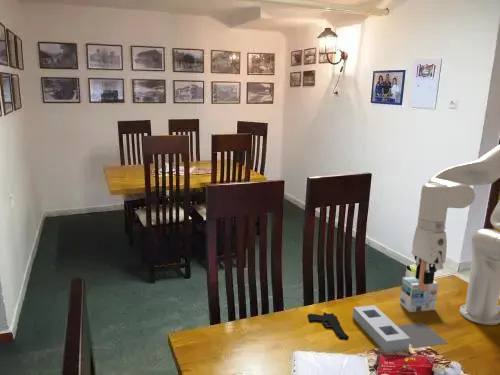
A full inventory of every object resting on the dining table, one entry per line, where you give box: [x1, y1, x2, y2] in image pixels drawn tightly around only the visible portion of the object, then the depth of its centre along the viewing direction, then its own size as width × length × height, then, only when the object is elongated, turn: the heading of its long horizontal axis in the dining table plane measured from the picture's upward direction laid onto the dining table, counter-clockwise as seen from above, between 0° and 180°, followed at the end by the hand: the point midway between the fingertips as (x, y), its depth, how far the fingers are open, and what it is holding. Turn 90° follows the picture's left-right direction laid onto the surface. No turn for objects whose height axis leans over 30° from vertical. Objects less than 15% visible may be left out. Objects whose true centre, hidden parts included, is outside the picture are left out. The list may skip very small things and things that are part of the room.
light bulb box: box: [399, 276, 439, 313], centre depth 142 cm, size 11×7×11 cm, turn 102°
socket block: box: [352, 304, 411, 353], centre depth 126 cm, size 8×20×4 cm, turn 14°
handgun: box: [307, 312, 350, 341], centre depth 130 cm, size 16×1×10 cm
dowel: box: [418, 259, 429, 291], centre depth 121 cm, size 3×3×10 cm
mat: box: [397, 322, 449, 349], centre depth 126 cm, size 12×12×1 cm
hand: (424, 280), depth 121 cm, fingers closed on dowel, 3 cm apart
